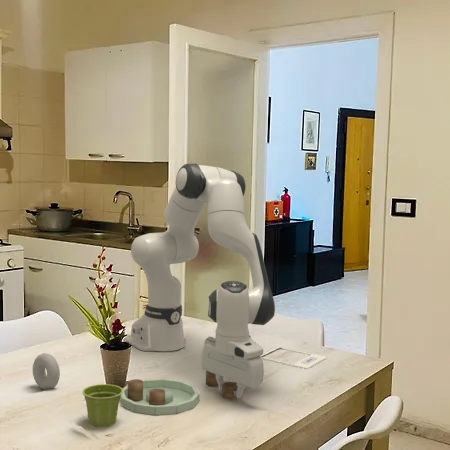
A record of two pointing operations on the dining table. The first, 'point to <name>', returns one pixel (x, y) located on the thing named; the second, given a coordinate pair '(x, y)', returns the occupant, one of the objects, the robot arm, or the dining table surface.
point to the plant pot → (102, 404)
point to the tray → (176, 406)
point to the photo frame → (303, 363)
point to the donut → (40, 375)
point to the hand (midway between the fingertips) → (230, 394)
